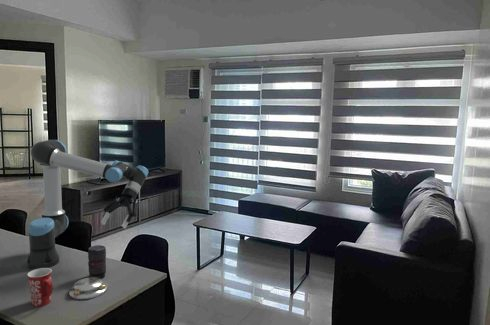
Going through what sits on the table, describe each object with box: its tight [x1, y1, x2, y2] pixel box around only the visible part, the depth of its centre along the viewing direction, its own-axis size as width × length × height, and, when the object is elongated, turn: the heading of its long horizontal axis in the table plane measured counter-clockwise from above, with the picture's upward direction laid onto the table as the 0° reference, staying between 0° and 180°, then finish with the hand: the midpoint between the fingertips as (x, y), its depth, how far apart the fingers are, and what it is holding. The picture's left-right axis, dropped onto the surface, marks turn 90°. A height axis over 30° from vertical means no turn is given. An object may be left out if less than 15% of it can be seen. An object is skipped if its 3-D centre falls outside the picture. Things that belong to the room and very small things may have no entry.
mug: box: [27, 267, 54, 307], centre depth 151 cm, size 13×9×14 cm
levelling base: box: [68, 277, 108, 301], centre depth 163 cm, size 16×16×4 cm
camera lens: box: [87, 244, 107, 279], centre depth 176 cm, size 8×8×15 cm
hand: (112, 225), depth 184 cm, fingers open, 13 cm apart
